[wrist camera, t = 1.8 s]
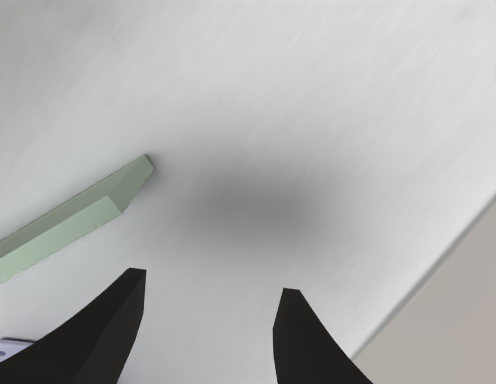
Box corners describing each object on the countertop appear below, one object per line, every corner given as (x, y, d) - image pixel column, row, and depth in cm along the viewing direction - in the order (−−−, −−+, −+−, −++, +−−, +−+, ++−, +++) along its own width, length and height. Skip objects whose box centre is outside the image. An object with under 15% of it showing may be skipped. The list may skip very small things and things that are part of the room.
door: (-32, 279, 23) (-118, 352, 18) (-46, 267, 23) (-138, 337, 17) (155, 169, 20) (123, 215, 15) (143, 152, 20) (105, 193, 14)
